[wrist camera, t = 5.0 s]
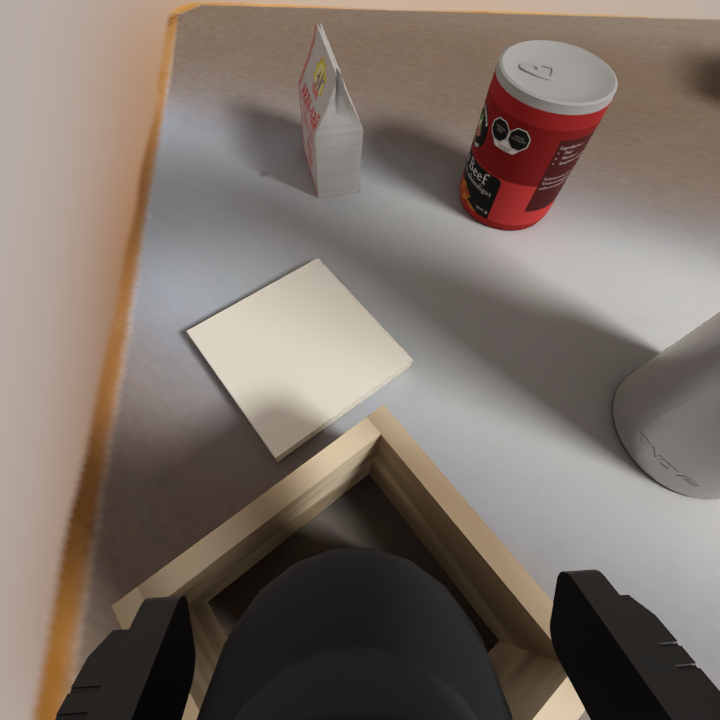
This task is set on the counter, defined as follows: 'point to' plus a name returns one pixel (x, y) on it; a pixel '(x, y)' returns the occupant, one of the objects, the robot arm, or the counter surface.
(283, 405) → the cream tile
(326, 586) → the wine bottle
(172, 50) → the counter surface
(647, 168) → the counter surface
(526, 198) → the canned food
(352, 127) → the white paper bag
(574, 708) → the pine crate
